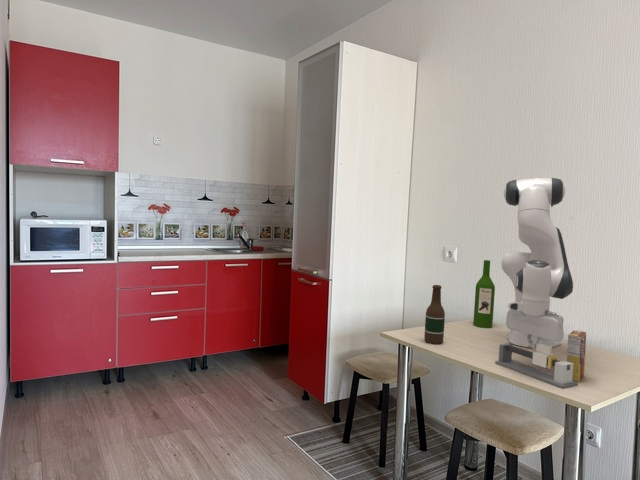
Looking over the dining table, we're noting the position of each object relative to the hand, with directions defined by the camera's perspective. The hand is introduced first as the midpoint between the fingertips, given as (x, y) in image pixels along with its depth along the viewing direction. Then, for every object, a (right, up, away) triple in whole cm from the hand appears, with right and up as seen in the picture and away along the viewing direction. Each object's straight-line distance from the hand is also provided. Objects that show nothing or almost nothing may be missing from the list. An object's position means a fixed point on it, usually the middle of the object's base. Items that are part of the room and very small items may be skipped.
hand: (532, 347), depth 158 cm
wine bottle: (+7, -5, +68) cm, 69 cm away
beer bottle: (-26, -6, +34) cm, 43 cm away
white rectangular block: (+2, -5, -3) cm, 6 cm away
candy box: (+13, -10, -2) cm, 17 cm away
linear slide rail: (0, -9, -1) cm, 9 cm away
